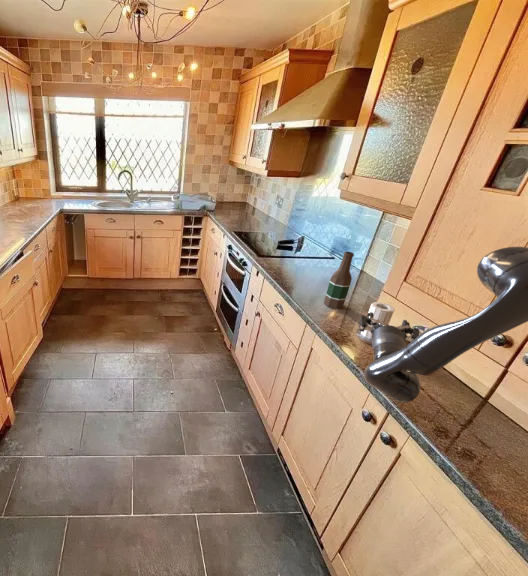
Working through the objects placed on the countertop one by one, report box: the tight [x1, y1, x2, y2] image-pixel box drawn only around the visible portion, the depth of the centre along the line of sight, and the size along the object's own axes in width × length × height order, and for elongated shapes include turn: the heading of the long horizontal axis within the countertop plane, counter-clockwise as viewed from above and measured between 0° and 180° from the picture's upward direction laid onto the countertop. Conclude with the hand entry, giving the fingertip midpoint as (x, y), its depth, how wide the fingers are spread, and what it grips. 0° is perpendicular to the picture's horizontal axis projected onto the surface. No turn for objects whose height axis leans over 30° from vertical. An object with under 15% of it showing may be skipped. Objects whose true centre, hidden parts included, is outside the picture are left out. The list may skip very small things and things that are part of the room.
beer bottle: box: [323, 251, 355, 310], centre depth 127 cm, size 8×8×24 cm
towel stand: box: [355, 308, 383, 346], centre depth 109 cm, size 10×10×12 cm
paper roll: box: [361, 301, 395, 340], centre depth 108 cm, size 6×6×12 cm
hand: (387, 318), depth 97 cm, fingers open, 8 cm apart
